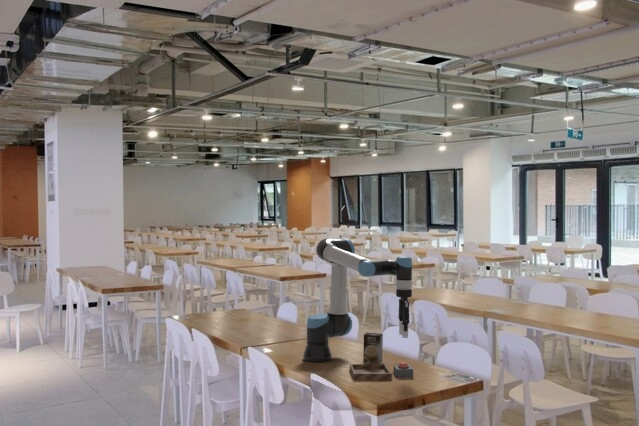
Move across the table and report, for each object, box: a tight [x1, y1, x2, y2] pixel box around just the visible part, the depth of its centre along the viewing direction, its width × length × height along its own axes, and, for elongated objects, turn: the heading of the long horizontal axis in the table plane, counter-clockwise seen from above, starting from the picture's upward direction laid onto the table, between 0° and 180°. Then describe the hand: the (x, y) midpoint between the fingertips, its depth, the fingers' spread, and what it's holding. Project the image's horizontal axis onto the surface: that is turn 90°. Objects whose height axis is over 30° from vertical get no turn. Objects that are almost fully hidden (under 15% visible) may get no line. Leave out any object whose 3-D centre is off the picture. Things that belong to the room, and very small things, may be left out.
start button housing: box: [393, 364, 414, 379], centre depth 285 cm, size 8×8×4 cm
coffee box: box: [362, 332, 384, 364], centre depth 305 cm, size 9×6×16 cm
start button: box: [398, 361, 409, 368], centre depth 285 cm, size 4×4×3 cm
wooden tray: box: [349, 363, 393, 381], centre depth 286 cm, size 18×18×3 cm
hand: (403, 336), depth 286 cm, fingers open, 7 cm apart
